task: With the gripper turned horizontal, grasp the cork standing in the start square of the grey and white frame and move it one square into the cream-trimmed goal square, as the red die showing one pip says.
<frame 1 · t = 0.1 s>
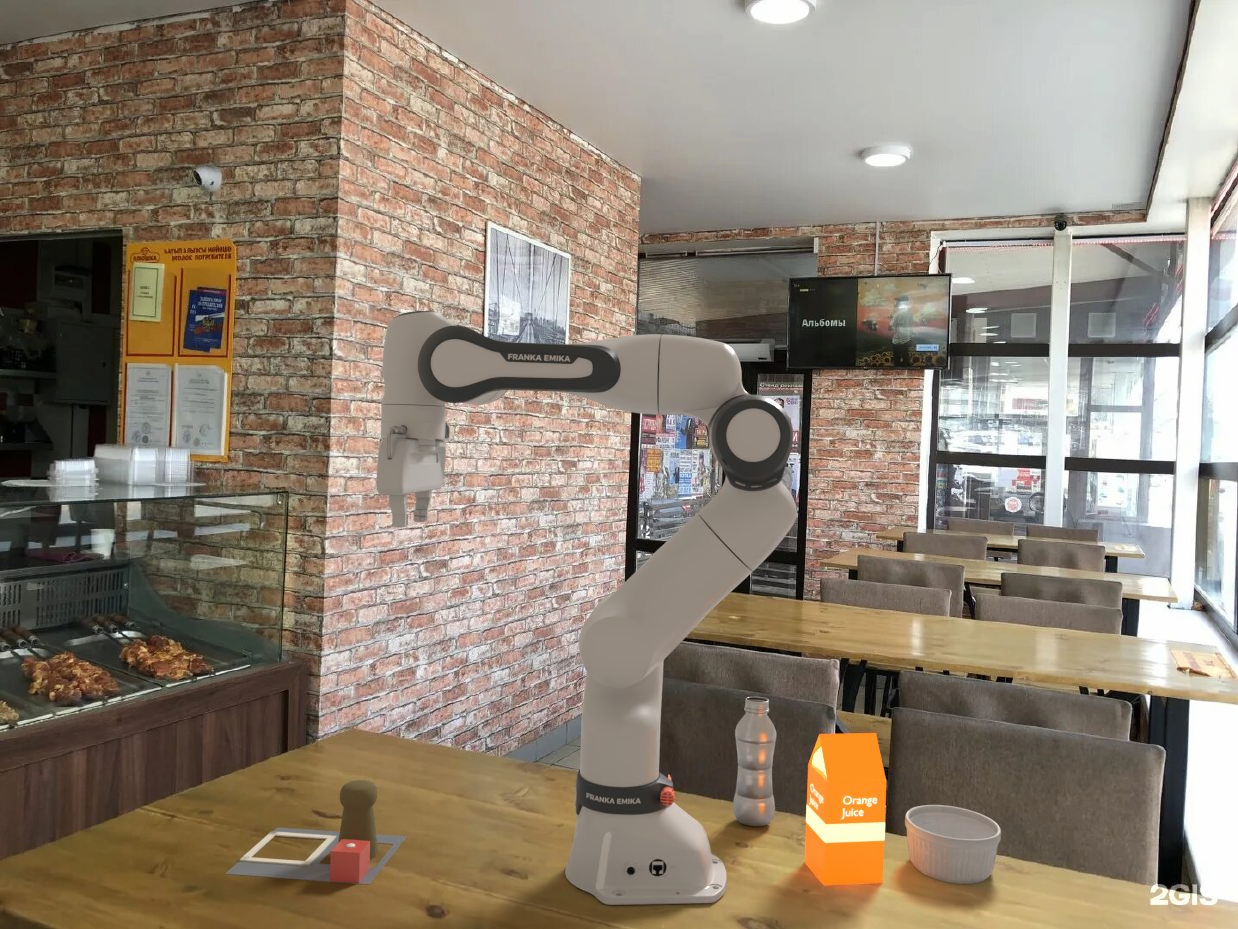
hand: (410, 524, 139), 48 cm above the table, tool pointing down, fingers open, 8 cm apart
ramekin: (950, 870, 142), on the table
grey and white frame: (320, 859, 139), on the table
orange juice: (842, 873, 140), on the table
plastic bottle: (753, 824, 157), on the table
cork: (357, 860, 139), resting in grey and white frame
red die: (349, 875, 132), resting on grey and white frame
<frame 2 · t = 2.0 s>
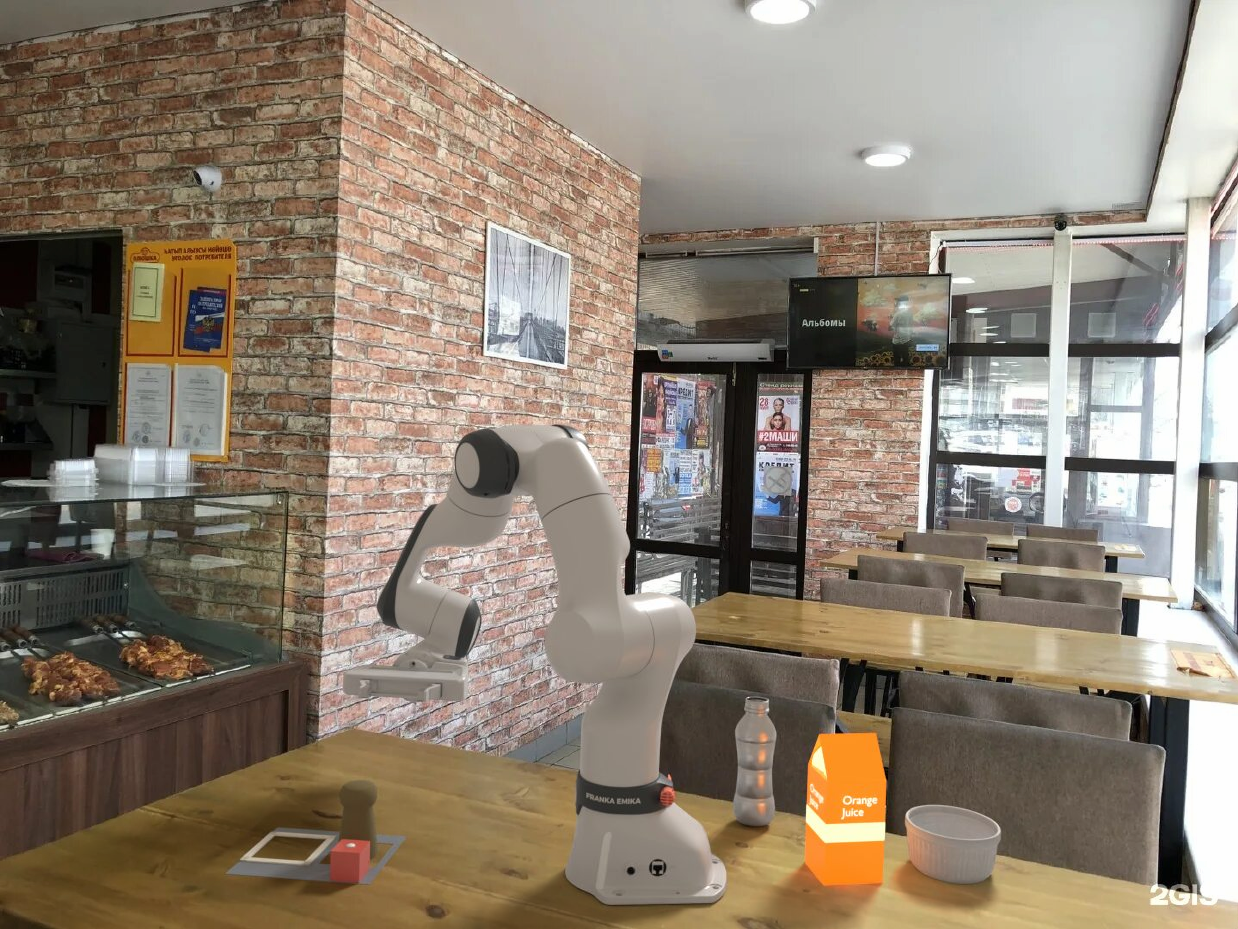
hand: (392, 695, 153), 20 cm above the table, tool horizontal, fingers open, 8 cm apart
nothing on the table moved.
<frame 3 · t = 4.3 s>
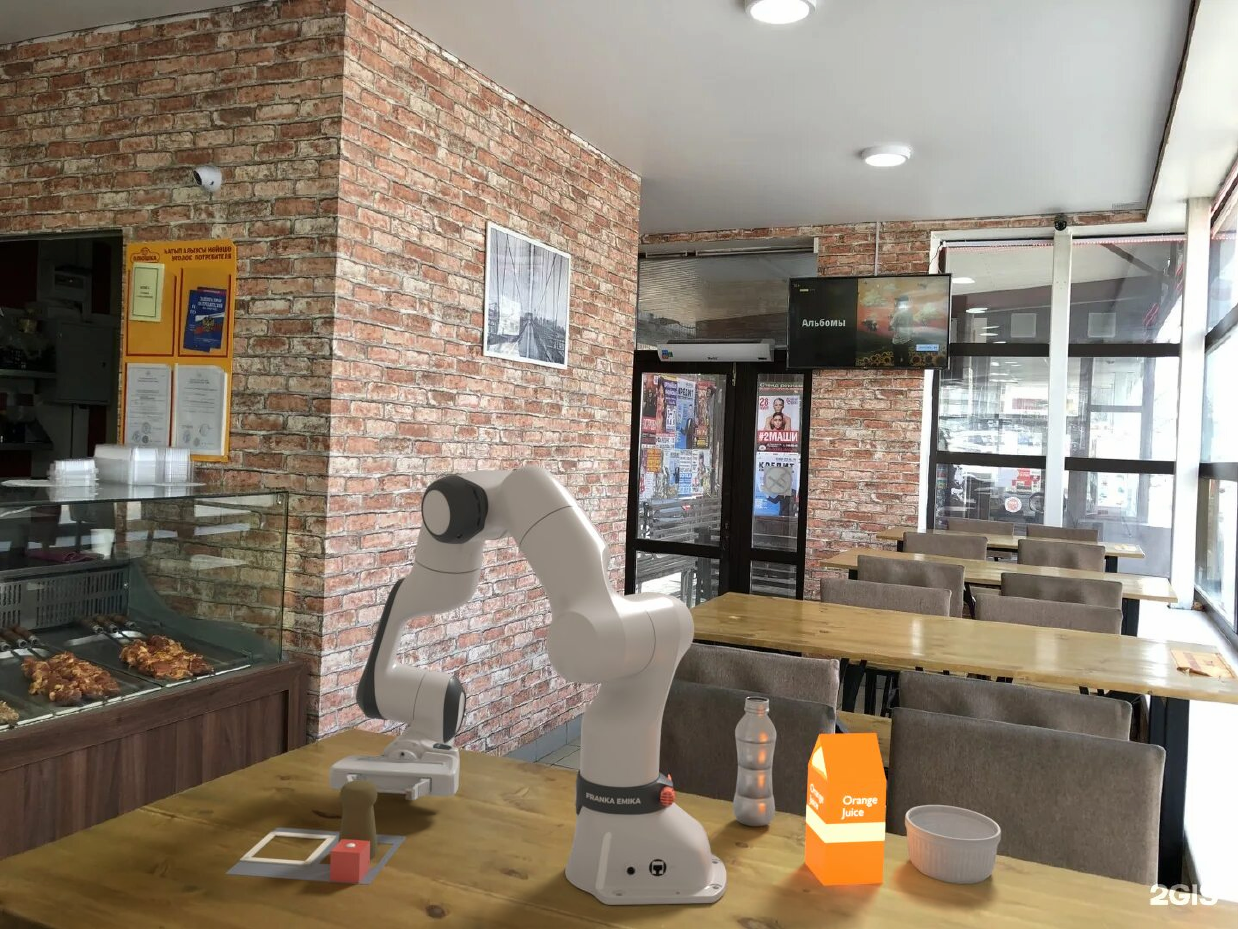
hand: (379, 793, 148), 6 cm above the table, tool horizontal, fingers open, 8 cm apart
nothing on the table moved.
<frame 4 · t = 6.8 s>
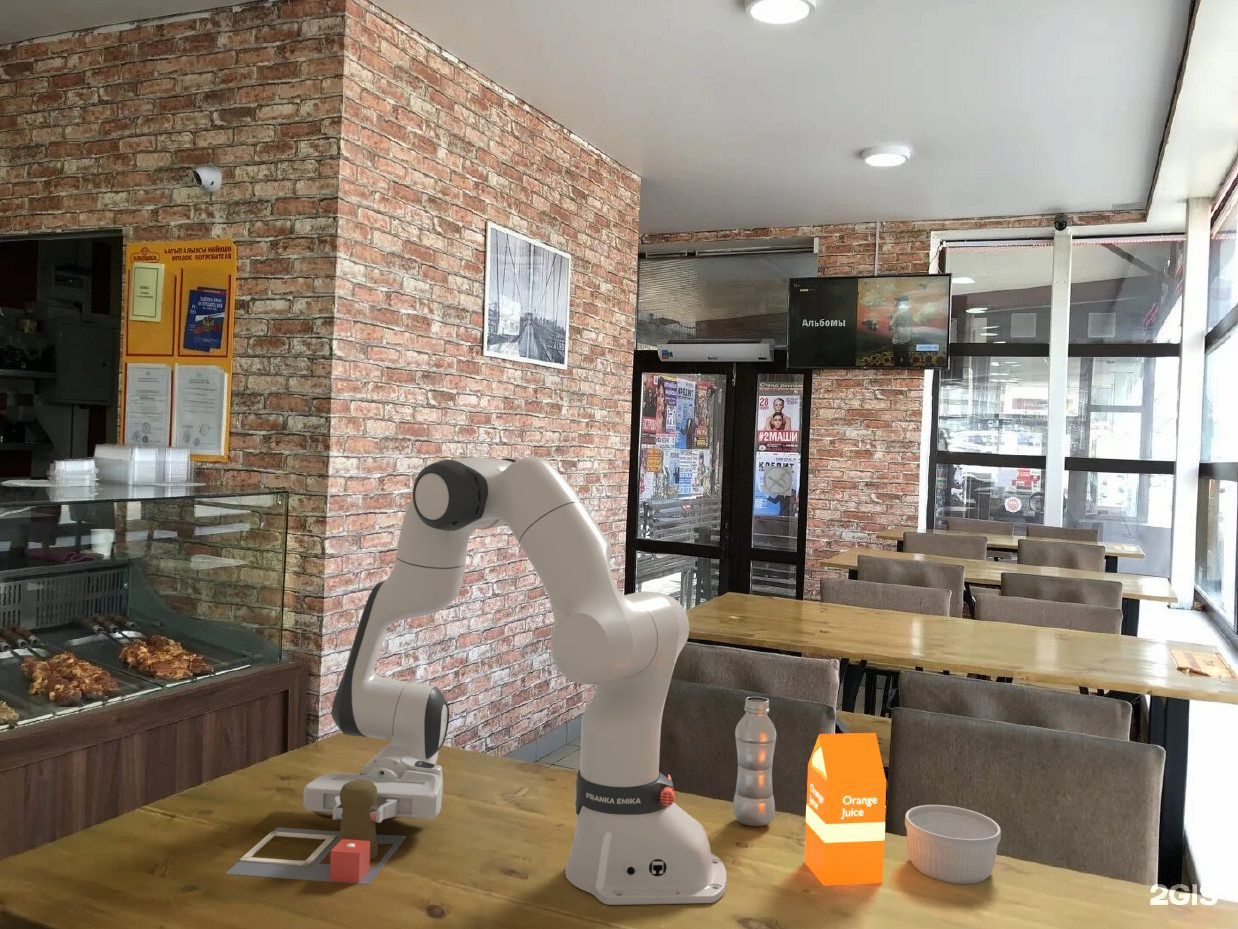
hand: (356, 816, 138), 7 cm above the table, tool horizontal, fingers closed on cork, 4 cm apart
cork: (357, 860, 139), resting in grey and white frame, touching gripper
everything else where it was.
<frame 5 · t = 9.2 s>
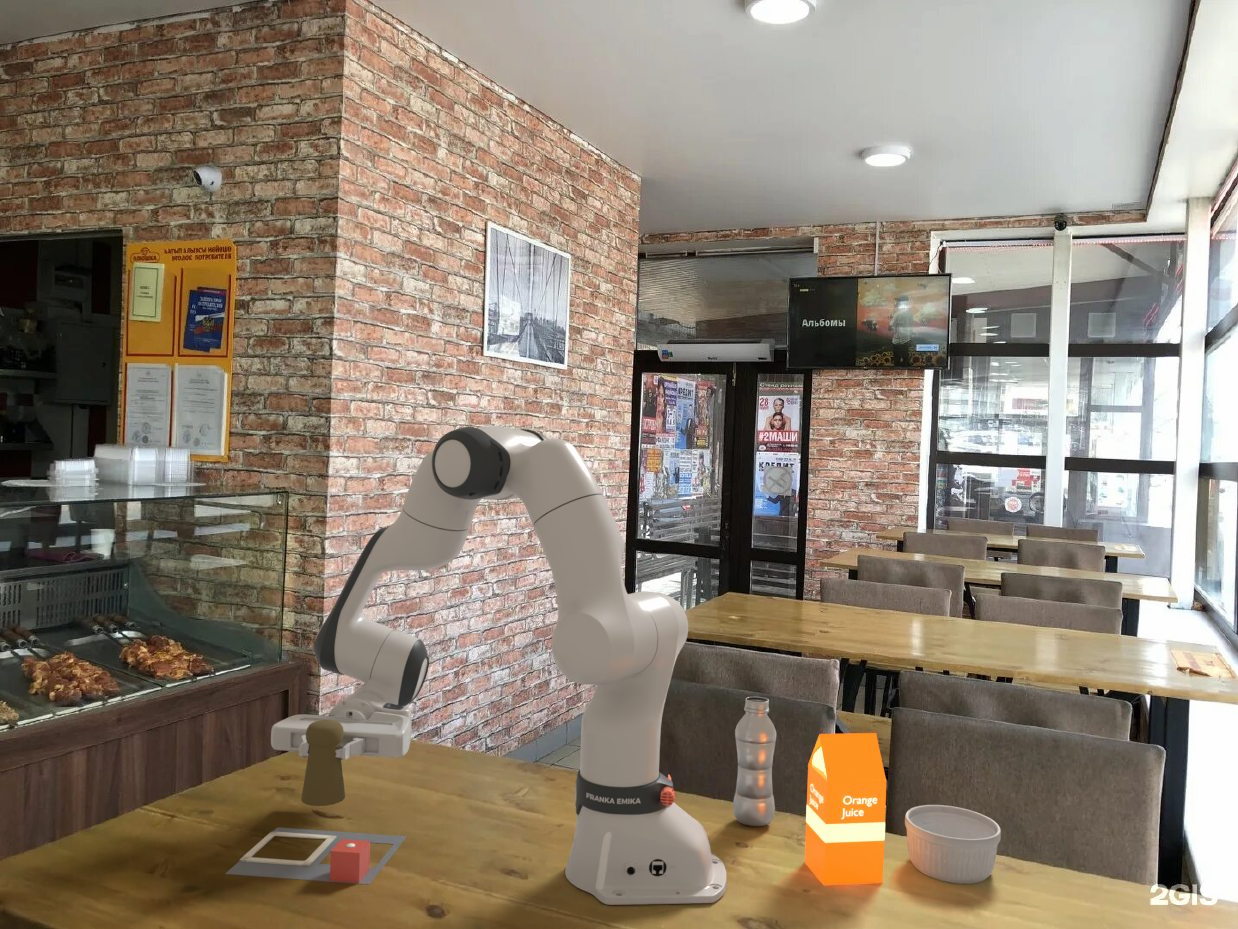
hand: (321, 753, 139), 15 cm above the table, tool horizontal, fingers closed on cork, 4 cm apart
cork: (323, 799, 140), point 8 cm above the table, touching gripper
everything else where it was.
when the fingers open (7 cm above the table, at t = 12.1 s): cork stays where it is, resting in grey and white frame.
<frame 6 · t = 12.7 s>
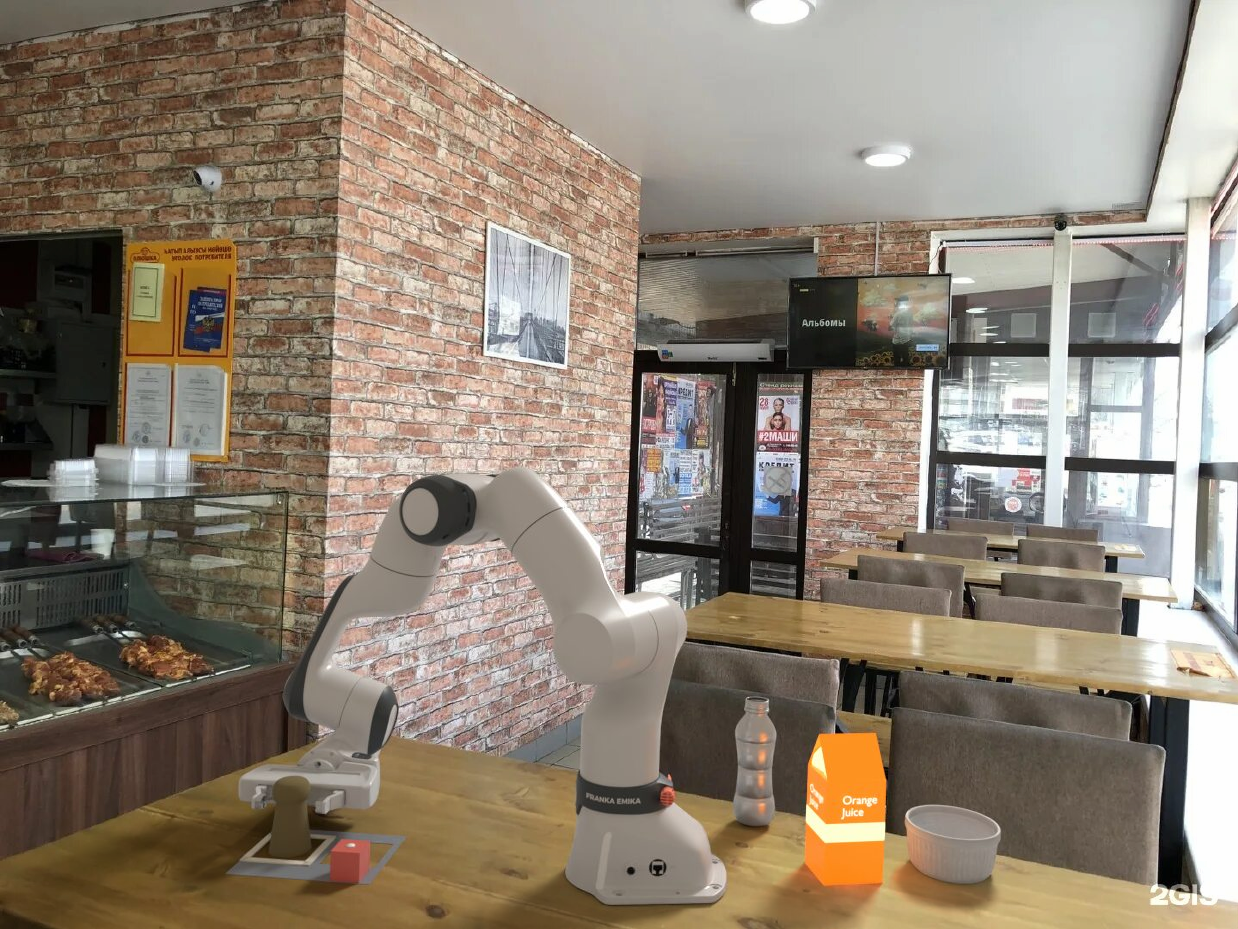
hand: (287, 806, 139), 7 cm above the table, tool horizontal, fingers open, 8 cm apart
cork: (290, 855, 140), resting in grey and white frame
everything else where it was.
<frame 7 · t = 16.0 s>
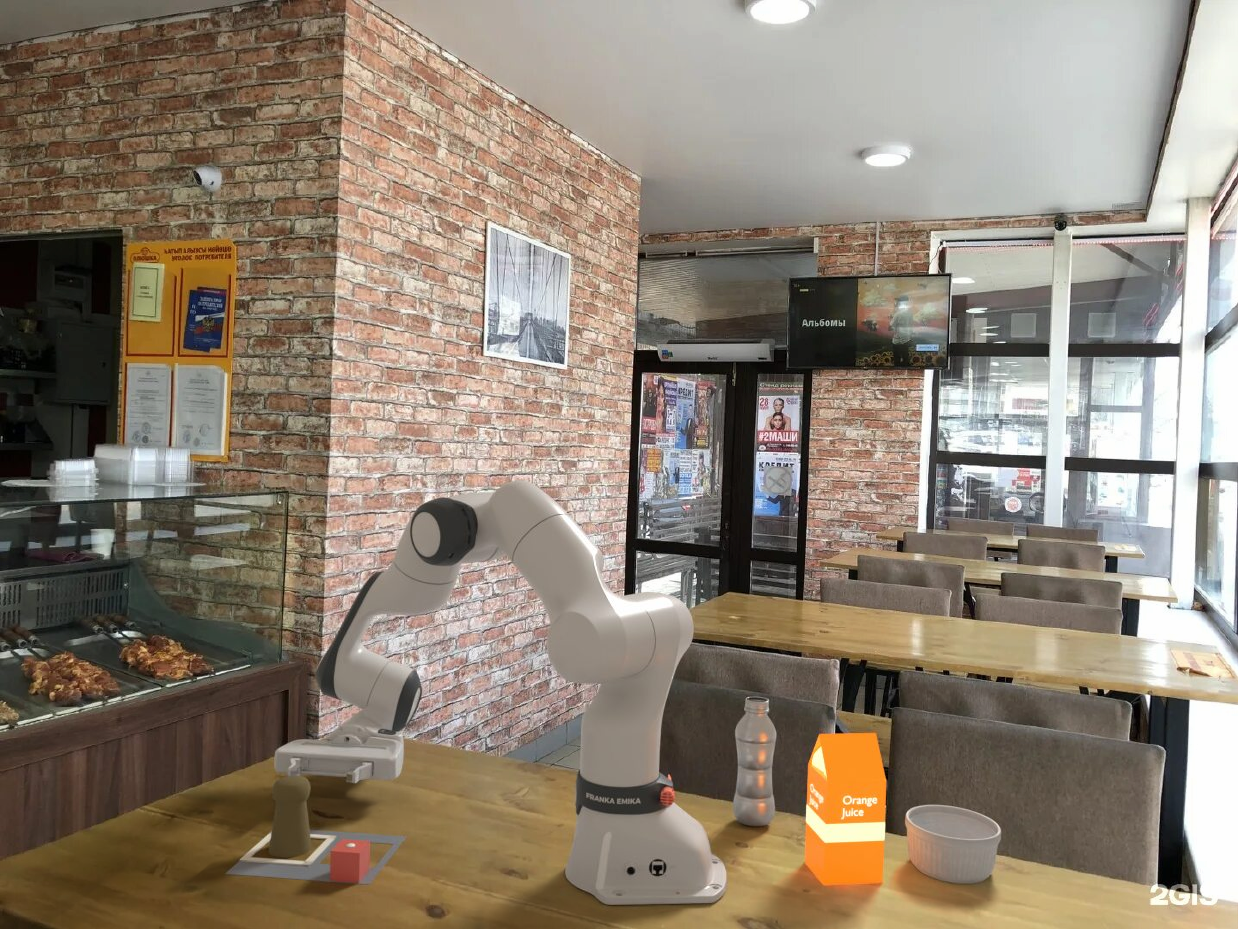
hand: (321, 776, 151), 7 cm above the table, tool horizontal, fingers open, 8 cm apart
nothing on the table moved.
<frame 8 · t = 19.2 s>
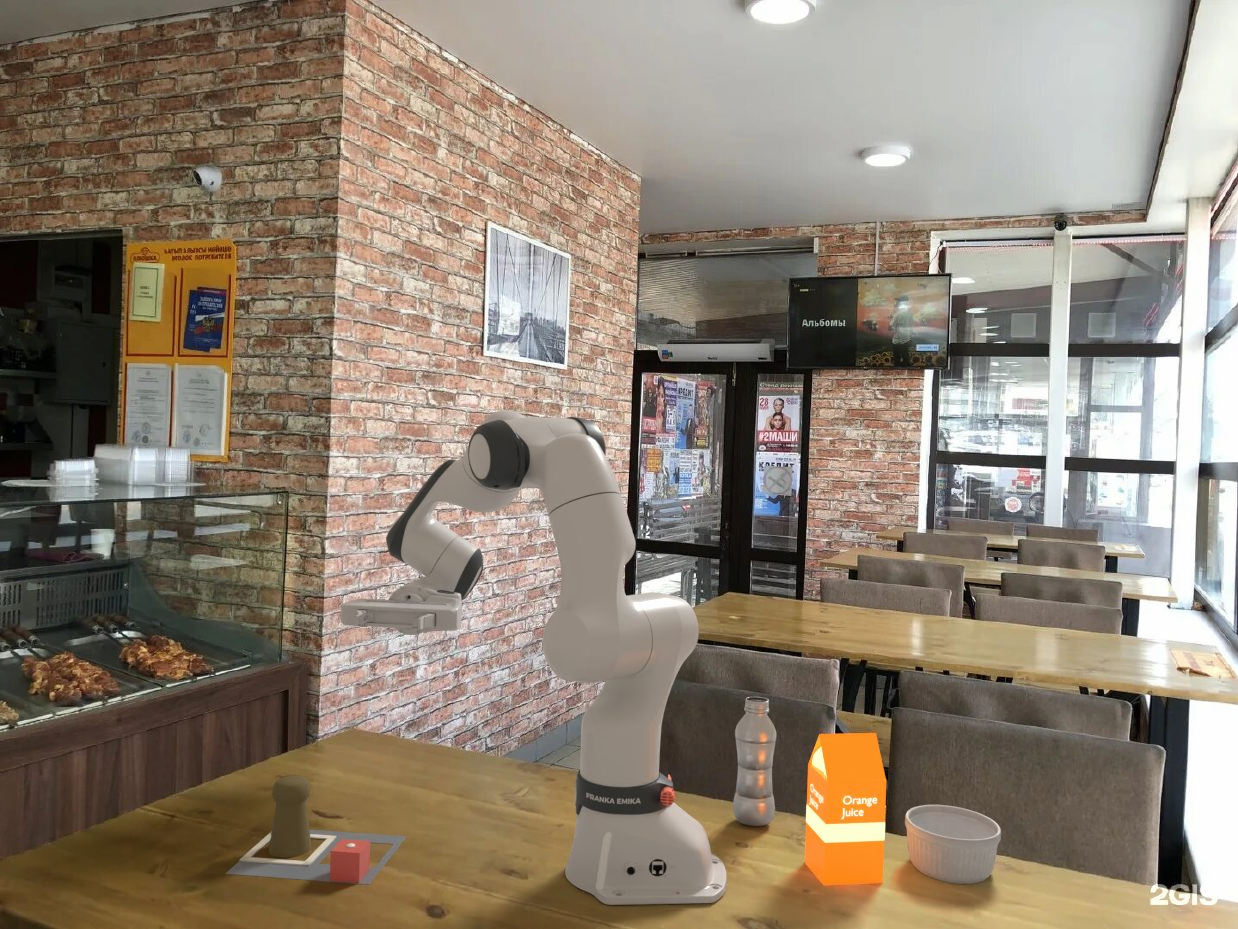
hand: (387, 622, 159), 30 cm above the table, tool horizontal, fingers open, 8 cm apart
nothing on the table moved.
at the end: cork 0.1 cm from the target spot on the grey and white frame, point 0.0 cm above the grey and white frame's base; cork tilted 0°; the gripper is holding nothing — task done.
